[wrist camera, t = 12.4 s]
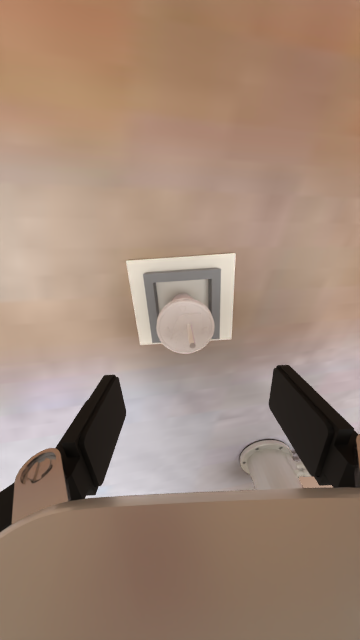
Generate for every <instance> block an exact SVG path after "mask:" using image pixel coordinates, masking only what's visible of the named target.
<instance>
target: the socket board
mask: <svg viewBox="0 0 360 640" xmlns="http://www.w3.org/2000/svg"><path fill="white" fill-rule="evenodd" d="M235 257H236V253H229V254H215V255H200V256H186V257H171V258H157V259H142V260H128V261H126V264H127V270H128V276H129V282H130V288H131V294H132V300H133V305H134V311H135V317H136V323H137V329H138V335H139V341H140V345H149V344H162V343H161V341H160V339H159V337H158V335H157V329H156V326H157V319H158V316H159V313H160V312H161V310H162V309H163V307H165V306H166V305H167V304H168V303H169V302H171V301H172V299H173V298H174V297H175V296H176V295H178V294H181V293H185V294H188V295H190V296H191V297H192V298H193V299H195V300H197V301H200V302H201V303H203V304H204V305H205V306H206V307H207V308H208V309H209V310H210V312H211V314H212V317H213V320H214V326H215V328H214V334H213V336H212V339H211V340H210V341H212V340H228V339H232V319H233V298H234V277H235Z"/></svg>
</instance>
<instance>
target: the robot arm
mask: <svg viewBox="0 0 360 640" xmlns="http://www.w3.org/2000/svg"><path fill="white" fill-rule="evenodd" d="M269 407H270V410H271V411H272V413H273V415H274V416H275V418H276V420H277V421H278V423H279V425H280V426H281V428H282V430H283V431H284V433H285V435H286V436H287V438H288V439H289V441H290V443H291V444H292V446H293V448H294V449H295V451H296V453H297V454H298V456H299V458H300V459H301V461H295V460H293V455H292V452H291V450H290V448H289V447H288V446H287V445H286V444H284V443H282V442H280V441H276V440H264V441H259V442H256V443H254V444H251V445H250V446H248V447H247V448H246V449H245V450H244V451H243V452H242V453H241V456H240V464H241V467H242V469H243V470H244V471H245V472H246V473H248V474H249V475H251V478H252V481H253V484H254V487H255V490H240V491H216V492H193V493H171V494H151V495H131V496H115V497H101V498H88V499H85V497H86V495H96V492H97V489H98V486H101V485H102V483H103V481H104V478H105V475H106V472H107V469H108V467H109V464H110V461H111V458H112V455H113V452H114V449H115V446H116V443H117V440H118V437H119V434H120V431H121V428H122V426H123V423H124V420H125V416H126V409H125V404H124V400H123V395H122V391H121V387H120V382H119V378H118V377H116V376H115V375H105V376H103V378H102V379H101V381H100V383H99V384H98V386H97V387H96V389H95V390H94V392H93V393H92V395H91V397H90V398H89V400H87V401H86V402H85V404H84V405H83V407H82V408H81V410H80V411H79V413H78V414H77V416H76V418H75V419H74V421H73V422H72V424H71V425H70V427H69V428H68V430H67V431H66V433H65V434H64V436H63V437H62V439H61V440H60V442H59V443H58V445H57V447H56V448H49V449H45V450H43V451H41V452H39V453H37V454H36V455H34V456H33V457H31V458H30V459H29V460H28V461H27V462H26V463H25V464H24V465H23V466H22V468H21V469H20V470H19V472H18V474H17V476H16V479H15V483H13V484H12V485H10V486H9V487H7V488H6V489H4V490H3V491H1V492H0V640H360V434H359V435H358V434H357V433H356V432H355V431H354V428H353V427H352V426H351V425H350V424H349V423H348V422H347V421H346V420H345V419H344V418H343V417H342V416H341V415H340V414H339V413H338V412H337V411H336V410H335V409H334V408H332V407H331V406H330V405H329V404H328V403H327V402H326V401H325V400H324V399H323V398H322V397H321V396H320V395H319V394H318V393H317V392H316V391H315V390H314V389H313V388H312V387H311V386H310V385H309V384H308V383H307V382H306V381H305V380H304V379H303V378H302V377H301V376H300V375H299V374H298V373H296V372H295V371H294V370H293V369H292V368H291V367H290V366H289V365H278V366H277V367H276V368H275V369H274V371H273V378H272V385H271V392H270V399H269ZM299 476H303V477H308V476H314V477H315V479H316V480H317V482H318V484H319V485H332V486H333V487H334V488H303V486H302V484H301V482H300V481H299V479H298V478H299Z"/></svg>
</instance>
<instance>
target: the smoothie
mask: <svg viewBox="0 0 360 640" xmlns="http://www.w3.org/2000/svg"><path fill="white" fill-rule="evenodd" d="M214 328H215V326H214V320H213V317H212V314H211V312H210V310H209V309H208V308H207V307H206V306H205V305H204V304H203V303H201V302H200V301H197V300H195V299H193V298H192V297H191V296H190V295H188V294H185V293H181V294H178V295H176V296H175V297H174V298H173V299H172V301H171V302H169V303H168V304H167V305H166V306H165V307H163V309H162V310H161V312H160V313H159V316H158V319H157V326H156V329H157V335H158V337H159V339H160V341H161V343H162V344H163V345H164V346H165V347H166V348H168V349H169V350H171V351H173V352H176V353H181V354H189V353H194V352H197V351H199V350H201V349H202V348H204V347H205V346H206V345H207V344H208V343H209V342H210V340H211V339H212V336H213V334H214Z"/></svg>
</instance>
